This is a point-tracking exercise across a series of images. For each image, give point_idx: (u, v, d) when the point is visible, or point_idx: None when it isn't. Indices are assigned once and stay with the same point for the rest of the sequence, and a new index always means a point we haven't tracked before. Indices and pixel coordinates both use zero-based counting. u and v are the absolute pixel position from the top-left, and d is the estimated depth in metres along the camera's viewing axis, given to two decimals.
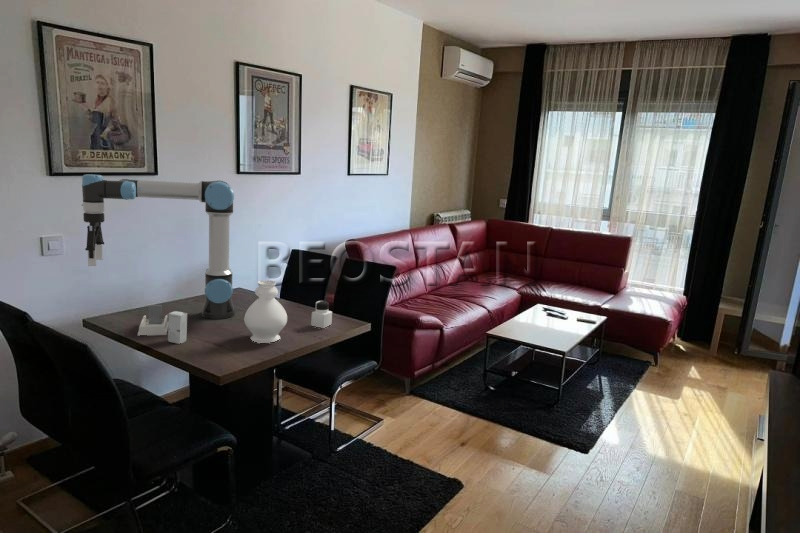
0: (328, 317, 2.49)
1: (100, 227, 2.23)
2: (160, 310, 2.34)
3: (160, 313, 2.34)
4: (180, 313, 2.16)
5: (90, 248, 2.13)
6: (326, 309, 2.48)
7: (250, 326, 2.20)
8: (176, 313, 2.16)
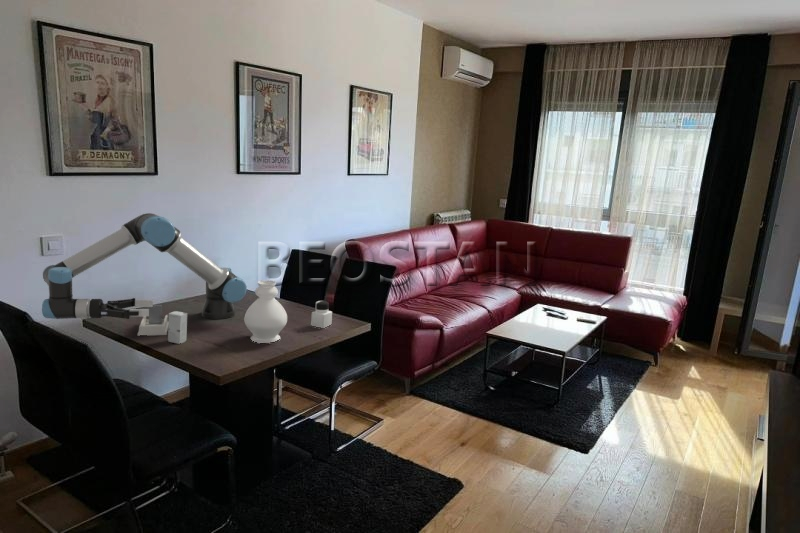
0: (328, 317, 2.49)
1: (109, 302, 2.08)
2: (160, 310, 2.34)
3: (160, 313, 2.34)
4: (180, 313, 2.16)
5: (124, 314, 2.00)
6: (326, 309, 2.48)
7: (250, 326, 2.20)
8: (176, 313, 2.16)
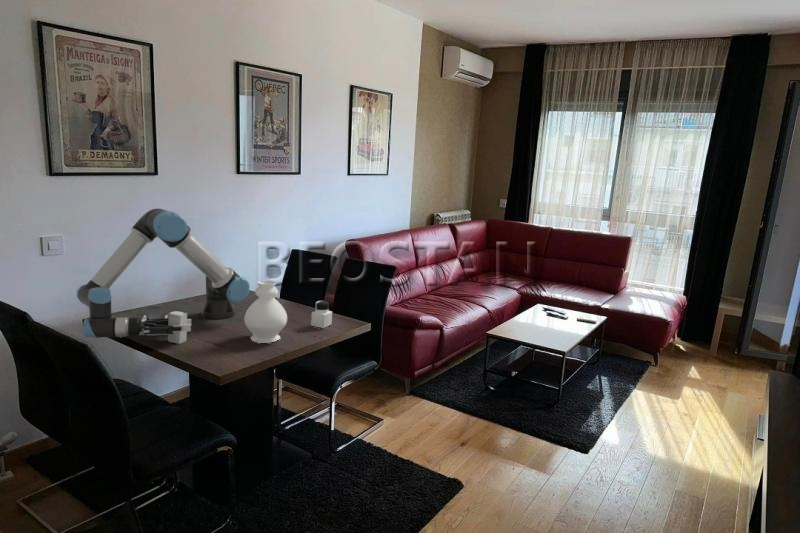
0: (328, 317, 2.49)
1: (147, 320, 2.14)
2: (160, 310, 2.34)
3: (160, 313, 2.34)
4: (180, 313, 2.16)
5: (169, 330, 2.10)
6: (326, 309, 2.48)
7: (250, 326, 2.20)
8: (176, 313, 2.15)
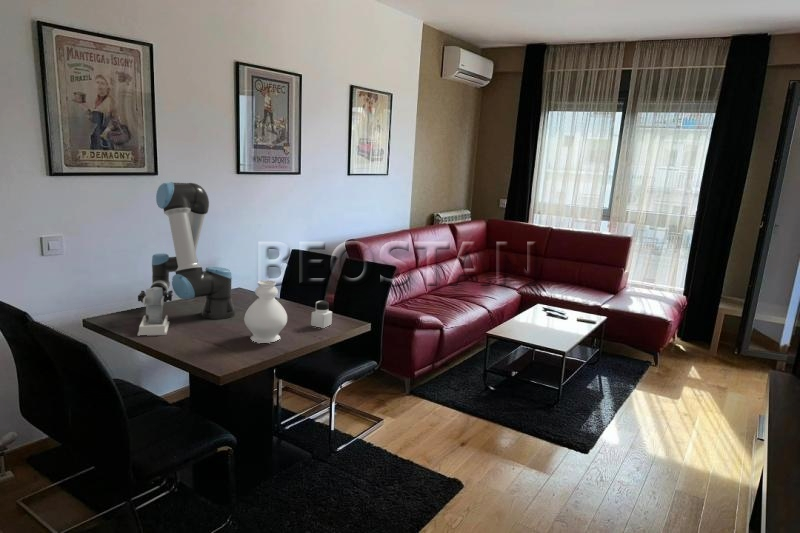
0: (328, 317, 2.49)
1: None
2: (160, 310, 2.34)
3: (160, 313, 2.34)
4: (152, 289, 2.36)
5: (138, 298, 2.39)
6: (326, 309, 2.48)
7: (250, 326, 2.20)
8: (153, 288, 2.38)
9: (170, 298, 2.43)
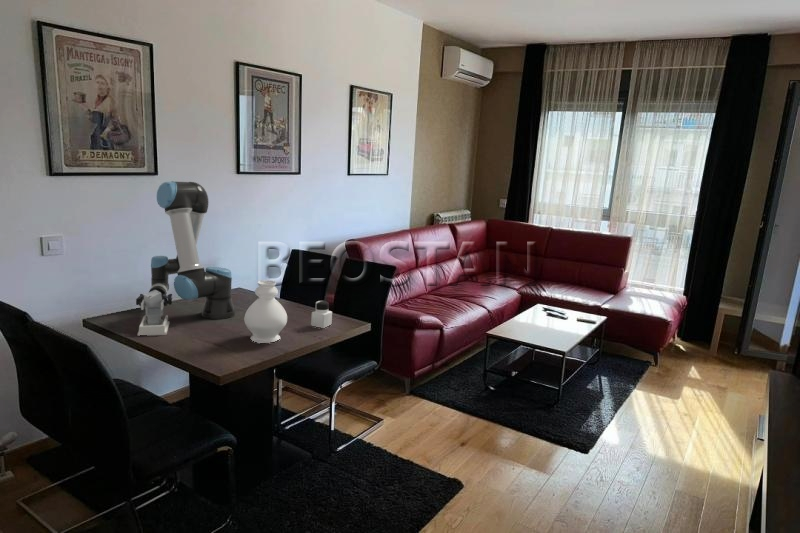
0: (328, 317, 2.49)
1: None
2: (159, 313, 2.30)
3: (159, 316, 2.31)
4: (150, 294, 2.30)
5: (136, 301, 2.33)
6: (326, 309, 2.48)
7: (250, 326, 2.20)
8: (152, 293, 2.31)
9: (170, 302, 2.37)
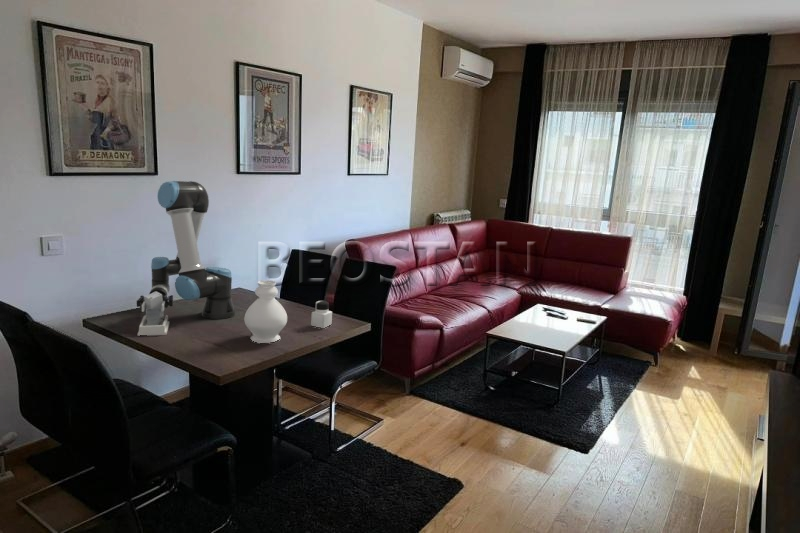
0: (328, 317, 2.49)
1: None
2: (159, 314, 2.28)
3: (159, 317, 2.29)
4: (151, 296, 2.28)
5: None
6: (326, 309, 2.48)
7: (250, 326, 2.20)
8: (153, 294, 2.29)
9: (171, 303, 2.35)
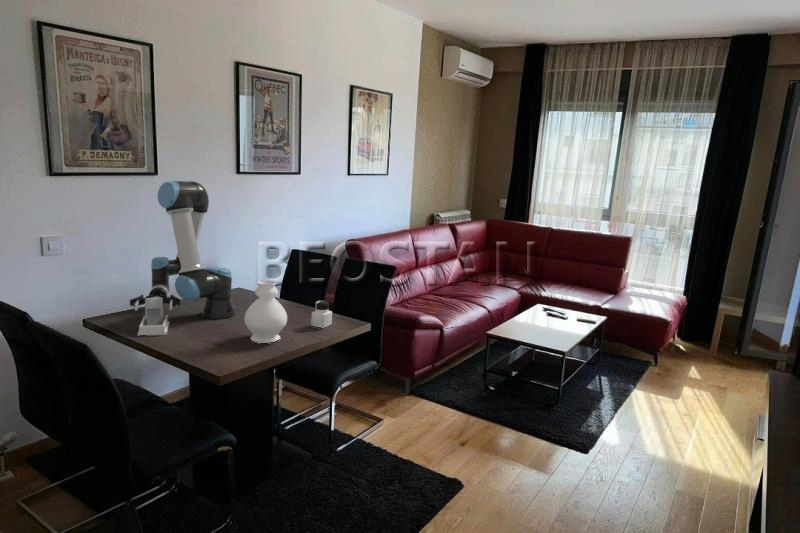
0: (328, 317, 2.49)
1: (160, 294, 2.41)
2: (159, 314, 2.29)
3: (159, 317, 2.29)
4: (151, 298, 2.30)
5: (130, 302, 2.31)
6: (326, 309, 2.48)
7: (250, 326, 2.20)
8: (153, 297, 2.31)
9: (179, 302, 2.37)
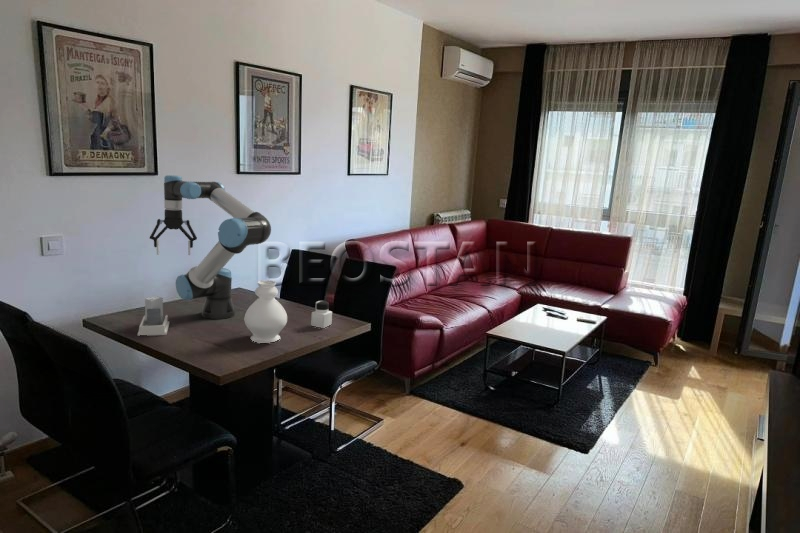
0: (328, 317, 2.49)
1: (176, 223, 2.45)
2: (159, 314, 2.29)
3: (159, 317, 2.29)
4: (151, 298, 2.30)
5: (150, 237, 2.44)
6: (326, 309, 2.48)
7: (250, 326, 2.20)
8: (153, 297, 2.31)
9: None
